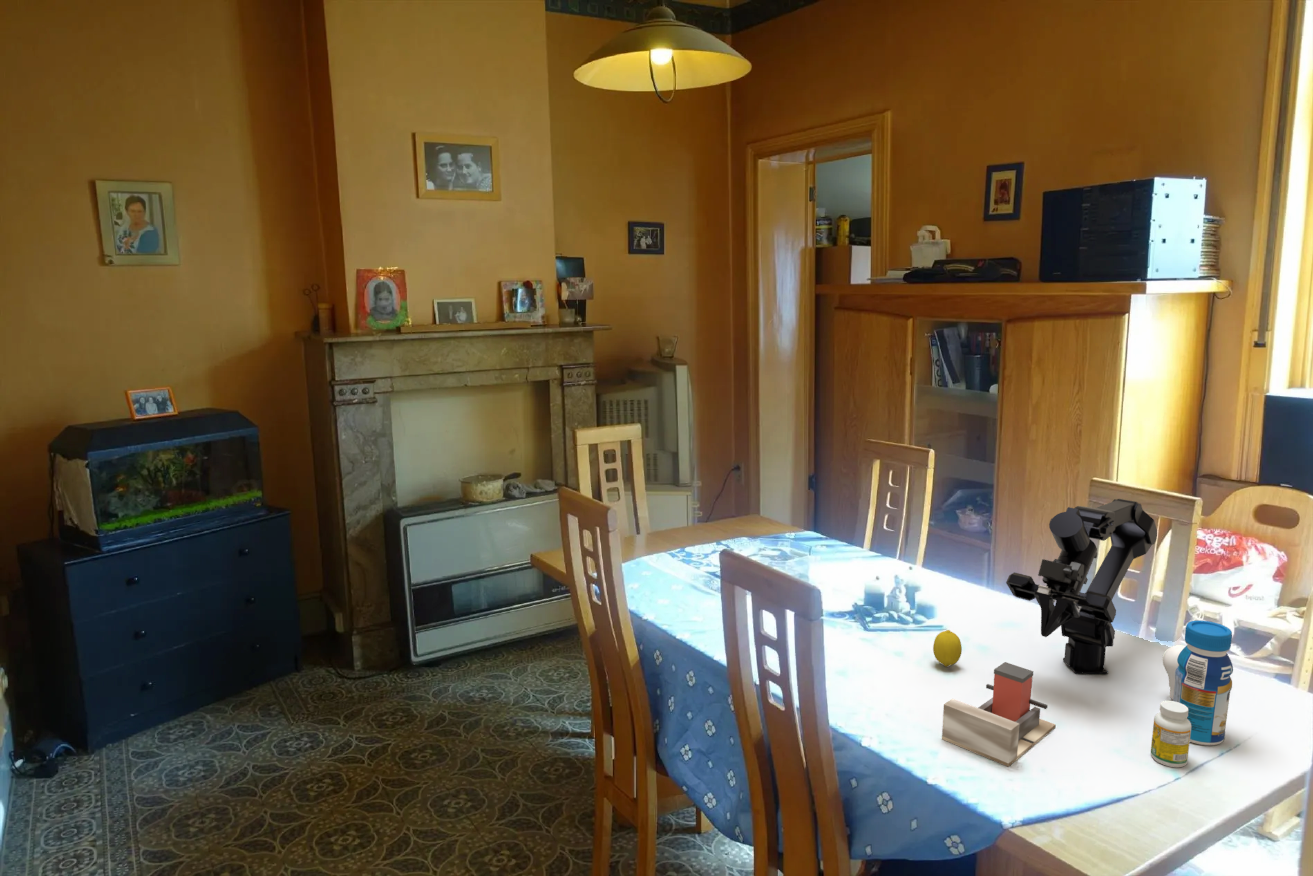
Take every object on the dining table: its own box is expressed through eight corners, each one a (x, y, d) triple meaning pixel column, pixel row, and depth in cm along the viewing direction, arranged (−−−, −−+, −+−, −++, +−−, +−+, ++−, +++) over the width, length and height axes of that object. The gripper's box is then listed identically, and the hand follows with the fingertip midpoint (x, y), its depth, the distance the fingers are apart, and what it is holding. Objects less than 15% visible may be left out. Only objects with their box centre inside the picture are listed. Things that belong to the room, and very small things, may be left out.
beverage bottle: (1159, 722, 158) (1170, 617, 154) (1207, 722, 158) (1219, 617, 154) (1185, 747, 150) (1198, 637, 146) (1236, 747, 149) (1250, 637, 146)
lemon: (962, 673, 177) (964, 636, 176) (933, 671, 179) (935, 634, 177) (958, 662, 183) (960, 625, 181) (930, 659, 184) (932, 624, 182)
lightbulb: (1182, 712, 161) (1189, 656, 159) (1151, 698, 167) (1156, 644, 165) (1203, 704, 164) (1209, 649, 162) (1171, 690, 169) (1177, 637, 167)
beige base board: (991, 703, 165) (993, 671, 164) (1055, 727, 157) (1058, 693, 155) (941, 739, 153) (943, 704, 152) (1008, 767, 145) (1011, 730, 143)
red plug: (986, 705, 163) (989, 657, 161) (1045, 727, 155) (1049, 676, 153) (975, 713, 160) (978, 664, 158) (1035, 736, 152) (1039, 684, 150)
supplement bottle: (1183, 772, 143) (1189, 718, 141) (1146, 760, 146) (1152, 707, 144) (1190, 758, 147) (1196, 705, 145) (1153, 747, 150) (1159, 695, 148)
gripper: (1013, 532, 170) (982, 601, 165) (1115, 554, 156) (1085, 630, 151) (1029, 561, 176) (999, 628, 171) (1128, 585, 163) (1099, 658, 158)
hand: (1043, 635), depth 163 cm, fingers closed
